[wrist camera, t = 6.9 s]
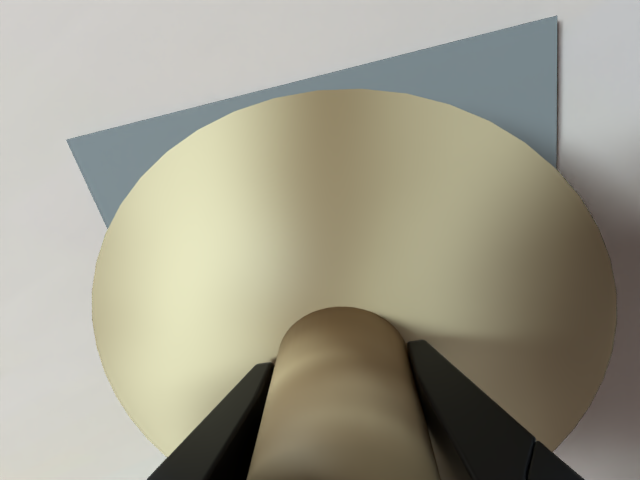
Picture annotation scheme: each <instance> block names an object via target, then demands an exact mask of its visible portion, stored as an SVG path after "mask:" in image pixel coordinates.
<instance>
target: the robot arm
mask: <svg viewBox="0 0 640 480" xmlns="http://www.w3.org/2000/svg"><path fill="white" fill-rule="evenodd" d="M407 350H408V355H409V359H410V362H411V366H412V370H413V374H414V378H415V382H416V386H417V390H418V394H419V397H420V401H421V404H422V408H423V412H424V416H425V420H426V423H427V427H428V431H429V435H430V439H431V443H432V447H433V451H434V455H435V459H436V462H437V466H438V470H439V474H440V478H441V480H584V479H583V478H582V477H581V476H580V475H579V474H577V473H576V472H575V471H574V470H573V469H571V468H570V467H569V466H568V465H567V464H565V463H564V462H563V461H562V460H561V459H560V458H558V457H557V456H556V455H555V454H554V453H553V452H551V451H550V450H549V449H548V448H547V447H546V446H545V445H544V444H543V443H541V442H540V441H536V438H535V437H534V436H533V435H532V434H531V433H530V432H529V431H528V430H526V429H525V428H524V427H523V426H522V425H521V424H520V423H518V422H517V421H516V420H515V419H514V418H513V417H512V416H511V415H509V414H508V413H507V412H506V411H505V410H504V409H503V408H501V407H500V406H499V405H498V404H497V403H496V402H495V401H494V400H492V399H491V398H490V397H489V396H488V395H487V394H486V393H484V392H483V391H482V390H481V389H480V388H479V387H478V386H477V385H475V384H474V383H473V382H472V381H471V380H470V379H469V378H468V377H466V376H465V375H464V374H463V373H462V372H461V371H460V370H458V369H457V368H456V367H455V366H454V365H453V364H452V363H451V362H449V361H448V360H447V359H446V358H445V357H444V356H443V355H441V354H440V353H439V352H438V351H437V350H436V349H435V348H434V347H432V346H431V345H430V344H429V343H428V342H427V341H425V340H415V341H409V342H408V343H407ZM274 367H275V365H274V364H273V363H272V362H265V363H259V364H256V365H255V366H254V367H253V368H252V369H251V370H250V371H249V372H248V373H247V374H246V375H245V376H244V377H243V378H242V379H241V380H240V382H239V383H238V384H237V385H236V386H235V387H234V388H233V389H232V390H231V391H230V392H229V393H228V394H227V395H226V396H225V397H224V398H223V399H222V401H221V402H220V403H219V404H218V405H217V406H216V407H215V408H214V409H213V410H212V411H211V412H210V413H209V414H208V415H207V416H206V417H205V418H204V419H203V421H202V422H201V423H200V424H199V425H198V426H197V427H196V428H195V429H194V430H193V431H192V432H191V433H190V434H189V435H188V436H187V437H186V438H185V439H184V441H183V442H182V443H181V444H180V445H179V446H178V447H177V448H176V449H175V450H174V451H173V452H172V453H171V454H170V455H169V456H168V457H167V458H166V459H165V461H164V462H163V463H162V464H161V465H160V466H159V467H158V468H157V469H156V470H155V471H154V472H153V473H152V474H151V475H150V476H149V477H148V478H147V480H247V476H248V472H249V468H250V464H251V460H252V456H253V452H254V448H255V444H256V440H257V435H258V431H259V427H260V423H261V419H262V415H263V411H264V407H265V403H266V399H267V395H268V391H269V387H270V383H271V379H272V375H273V371H274Z"/></svg>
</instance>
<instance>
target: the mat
mask: <svg viewBox="0 0 640 480" xmlns="http://www.w3.org/2000/svg"><path fill="white" fill-rule="evenodd" d="M342 89H369V90H378V91H388V92H397V93H407V94H410V95H414V96H418V97H422V98H426V99H430V100H434V101H438V102H442V103H446V104H450V105H452V106H455V107H457V108H459V109H462V110H464V111H467V112H469V113H471V114H474V115H476V116H479V117H481V118H483V119H486V120H488V121H490V122H492V123H494V124H495V125H497V126H498V127H500V128H502V129H503V130H505V131H507V132H508V133H510V134H512V135H513V136H515V137H517V138H518V139H520V140H522V141H523V142H525V143H526V144H527V145H528V146H530V147H531V148H532V149H533V150H534V151H536V152H537V153H538V154H539V155H540V156H541V157H543V158H544V159H545V160H546V161H547V162H549V163H550V164H551V165H552V166H553V167H554V168H556V147H557V16H553V17H549V18H545V19H541V20H537V21H533V22H529V23H525V24H522V25H518V26H514V27H510V28H506V29H502V30H498V31H494V32H490V33H486V34H482V35H478V36H474V37H470V38H466V39H462V40H458V41H454V42H450V43H446V44H443V45H439V46H435V47H431V48H427V49H423V50H419V51H415V52H411V53H407V54H403V55H399V56H395V57H391V58H387V59H383V60H379V61H375V62H371V63H368V64H364V65H360V66H356V67H352V68H348V69H344V70H340V71H336V72H332V73H328V74H324V75H320V76H316V77H312V78H308V79H304V80H300V81H296V82H292V83H289V84H285V85H281V86H277V87H273V88H269V89H265V90H261V91H257V92H253V93H249V94H245V95H241V96H237V97H233V98H229V99H225V100H221V101H217V102H213V103H210V104H206V105H202V106H198V107H194V108H190V109H186V110H182V111H178V112H174V113H170V114H166V115H162V116H158V117H154V118H150V119H146V120H142V121H138V122H135V123H131V124H127V125H123V126H119V127H115V128H111V129H107V130H103V131H99V132H95V133H91V134H87V135H83V136H79V137H75V138H71V139H67V143H68V145H69V147H70V149H71V151H72V153H73V156H74V158H75V160H76V162H77V164H78V166H79V168H80V171H81V173H82V175H83V177H84V179H85V181H86V184H87V186H88V188H89V190H90V192H91V194H92V197H93V199H94V201H95V203H96V205H97V207H98V209H99V212H100V214H101V216H102V218H103V220H104V222H105V225H106V227H107V229H108V228H109V226H110V224H111V222H112V220H113V218H114V216H115V214H116V212H117V210H118V209H119V207H120V205H121V203H122V202H123V201H124V199H125V198H126V197H127V195H128V194H129V193H130V191H131V190H132V188H133V187H134V186H135V184H136V183H137V182H138V180H139V179H140V178H141V177H142V176H143V175H144V174H145V173H146V172H147V171H148V170H149V169H150V168H151V167H152V166H153V165H154V164H155V163H156V162H157V161H158V160H159V159H160V158H161V157H162V156H163V155H164V154H165V153H166V152H167V151H169V150H170V149H172V148H173V147H174V146H176V145H177V144H179V143H180V142H181V141H183V140H184V139H186V138H187V137H188V136H190V135H191V134H193V133H194V132H196V131H197V130H199V129H200V128H202V127H204V126H206V125H208V124H210V123H212V122H214V121H216V120H218V119H220V118H222V117H224V116H226V115H228V114H230V113H232V112H234V111H237V110H240V109H243V108H246V107H249V106H252V105H255V104H258V103H261V102H264V101H267V100H270V99H273V98H278V97H283V96H289V95H295V94H300V93H306V92H311V91H317V90H342Z"/></svg>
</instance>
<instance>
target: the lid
mask: <svg viewBox="0 0 640 480" xmlns="http://www.w3.org/2000/svg"><path fill="white" fill-rule="evenodd" d="M92 321H93V327H94V333H95V339H96V346H97V349H98V352H99V356H100V359H101V362H102V365H103V368H104V371H105V374H106V376H107V378H108V380H109V382H110V384H111V386H112V388H113V391H114V393H115V395H116V397H117V398H118V400H119V401H120V403H121V404H122V406H123V408H124V409H125V411H126V412H127V414H128V415H129V417H130V418H131V420H132V421H133V422H134V423H135V424H136V426H137V427H138V428H139V429H140V430H141V432H142V433H143V434H144V435H145V436H146V438H147V439H148V440H149V441H150V442H151V443H152V444H153V445H154V446H156V447H157V448H158V449H159V450H160V451H161V452H162V453H163V454H164V455H165V456H166V457H168V456H169V455H170V454H171V453H172V452H173V451H174V450H175V449H176V448H177V447H178V446H179V445H180V444H181V443H182V442H183V441H184V439H185V438H186V437H187V436H188V435H189V434H190V433H191V432H192V431H193V430H194V429H195V428H196V427H197V426H198V425H199V424H200V423H201V422H202V421H203V419H204V418H205V417H206V416H207V415H208V414H209V413H210V412H211V411H212V410H213V409H214V408H215V407H216V406H217V405H218V404H219V403H220V402H221V401H222V399H223V398H224V397H225V396H226V395H227V394H228V393H229V392H230V391H231V390H232V389H233V388H234V387H235V386H236V385H237V384H238V383H239V382H240V380H241V379H242V378H243V377H244V376H245V375H246V374H247V373H248V372H249V371H250V370H251V369H252V368H253V367H254V366H255V365H256V364H259V363H265V362H272V363H273V364H274V365H275V367H274V371H273V375H272V379H271V383H270V387H269V391H268V395H267V399H266V403H265V407H264V411H263V415H262V419H261V423H260V427H259V431H258V435H257V440H256V444H255V448H254V452H253V456H252V460H251V464H250V468H249V472H248V476H247V480H441V478H440V474H439V470H438V466H437V462H436V459H435V455H434V451H433V447H432V443H431V439H430V435H429V431H428V427H427V423H426V420H425V416H424V412H423V408H422V404H421V401H420V397H419V394H418V390H417V386H416V382H415V378H414V374H413V370H412V366H411V362H410V359H409V355H408V350H407V343H408V342H409V341H415V340H425V341H427V342H428V343H429V344H430V345H431V346H432V347H434V348H435V349H436V350H437V351H438V352H439V353H440V354H441V355H443V356H444V357H445V358H446V359H447V360H448V361H449V362H451V363H452V364H453V365H454V366H455V367H456V368H457V369H458V370H460V371H461V372H462V373H463V374H464V375H465V376H466V377H468V378H469V379H470V380H471V381H472V382H473V383H474V384H475V385H477V386H478V387H479V388H480V389H481V390H482V391H483V392H484V393H486V394H487V395H488V396H489V397H490V398H491V399H492V400H494V401H495V402H496V403H497V404H498V405H499V406H500V407H501V408H503V409H504V410H505V411H506V412H507V413H508V414H509V415H511V416H512V417H513V418H514V419H515V420H516V421H517V422H518V423H520V424H521V425H522V426H523V427H524V428H525V429H526V430H528V431H529V432H530V433H531V434H532V435H533V436H534V437H535V438H536V441H540V442H541V443H543V444H544V445H545V446H546V447H547V448H548V449H549V450H550V451H551V452H553V451H554V450H555V449H556V448H557V447H558V446H559V445H560V444H561V442H562V441H563V440H564V439H565V438H566V437H567V436H568V435H569V434H570V433H571V431H572V430H573V429H574V428H575V427H576V425H577V424H578V422H579V421H580V419H581V418H582V417H583V415H584V414H585V412H586V411H587V409H588V408H589V406H590V405H591V403H592V401H593V399H594V397H595V395H596V393H597V391H598V389H599V387H600V385H601V383H602V381H603V379H604V376H605V373H606V369H607V366H608V363H609V360H610V357H611V354H612V350H613V344H614V337H615V331H616V324H617V301H616V287H615V281H614V276H613V271H612V266H611V260H610V257H609V255H608V252H607V249H606V247H605V244H604V242H603V239H602V236H601V234H600V231H599V228H598V227H597V225H596V223H595V221H594V220H593V218H592V216H591V215H590V213H589V211H588V210H587V208H586V206H585V205H584V203H583V201H582V200H581V198H580V197H579V195H578V194H577V193H576V192H575V191H574V189H573V188H572V187H571V186H570V185H569V184H568V182H567V181H566V180H565V179H564V178H563V177H562V175H561V174H560V173H559V172H558V171H557V170H556V168H554V167H553V166H552V165H551V164H550V163H549V162H547V161H546V160H545V159H544V158H543V157H541V156H540V155H539V154H538V153H537V152H536V151H534V150H533V149H532V148H531V147H530V146H528V145H527V144H526V143H525V142H523V141H522V140H520V139H518V138H517V137H515V136H513V135H512V134H510V133H508V132H507V131H505V130H503V129H502V128H500V127H498V126H497V125H495V124H494V123H492V122H490V121H488V120H486V119H483V118H481V117H479V116H476V115H474V114H471V113H469V112H467V111H464V110H462V109H459V108H457V107H455V106H452V105H450V104H446V103H442V102H438V101H434V100H430V99H426V98H422V97H418V96H414V95H410V94H407V93H397V92H388V91H378V90H369V89H342V90H317V91H311V92H306V93H300V94H295V95H289V96H283V97H278V98H273V99H270V100H267V101H264V102H261V103H258V104H255V105H252V106H249V107H246V108H243V109H240V110H237V111H234V112H232V113H230V114H228V115H226V116H224V117H222V118H220V119H218V120H216V121H214V122H212V123H210V124H208V125H206V126H204V127H202V128H200V129H199V130H197V131H196V132H194V133H193V134H191V135H190V136H188V137H187V138H186V139H184V140H183V141H181V142H180V143H179V144H177V145H176V146H174V147H173V148H172V149H170V150H169V151H167V152H166V153H165V154H164V155H163V156H162V157H161V158H160V159H159V160H158V161H157V162H156V163H155V164H154V165H153V166H152V167H151V168H150V169H149V170H148V171H147V172H146V173H145V174H144V175H143V176H142V177H141V178H140V179H139V180H138V182H137V183H136V184H135V186H134V187H133V188H132V190H131V191H130V193H129V194H128V195H127V197H126V198H125V199H124V201H123V202H122V203H121V205H120V207H119V209H118V210H117V212H116V214H115V216H114V218H113V220H112V222H111V224H110V226H109V228H108V230H107V232H106V234H105V237H104V240H103V243H102V246H101V250H100V253H99V256H98V259H97V262H96V268H95V275H94V281H93V288H92Z"/></svg>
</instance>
